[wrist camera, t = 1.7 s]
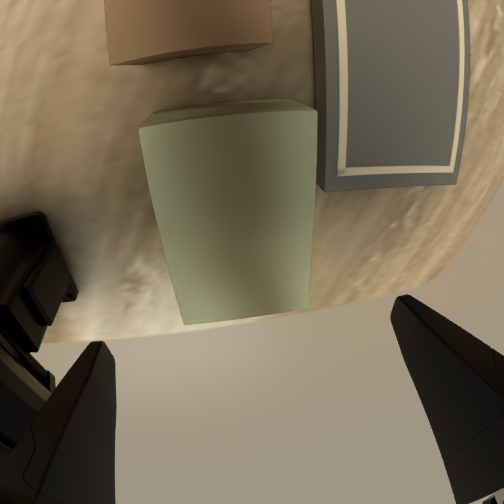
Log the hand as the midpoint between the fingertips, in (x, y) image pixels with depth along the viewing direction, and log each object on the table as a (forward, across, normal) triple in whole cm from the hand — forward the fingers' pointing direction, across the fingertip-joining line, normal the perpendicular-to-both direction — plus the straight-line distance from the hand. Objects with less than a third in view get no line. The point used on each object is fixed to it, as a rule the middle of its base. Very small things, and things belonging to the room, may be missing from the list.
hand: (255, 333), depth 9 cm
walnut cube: (+9, +1, -10) cm, 14 cm away
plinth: (+9, -9, -7) cm, 15 cm away
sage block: (+9, 0, 0) cm, 9 cm away
